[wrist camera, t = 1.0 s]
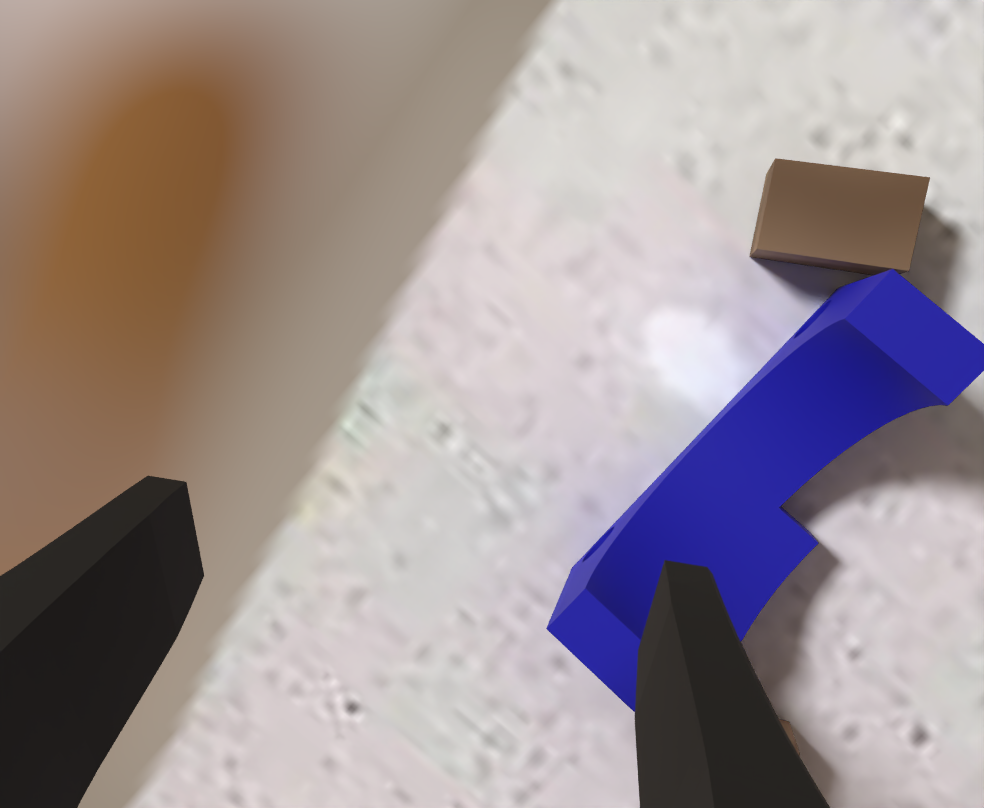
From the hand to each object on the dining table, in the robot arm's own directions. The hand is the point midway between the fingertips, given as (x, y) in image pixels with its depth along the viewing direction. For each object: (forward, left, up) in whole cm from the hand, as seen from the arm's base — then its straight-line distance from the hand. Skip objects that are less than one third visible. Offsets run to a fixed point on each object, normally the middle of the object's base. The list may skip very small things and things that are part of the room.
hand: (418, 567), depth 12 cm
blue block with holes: (0, -6, -15) cm, 16 cm away
